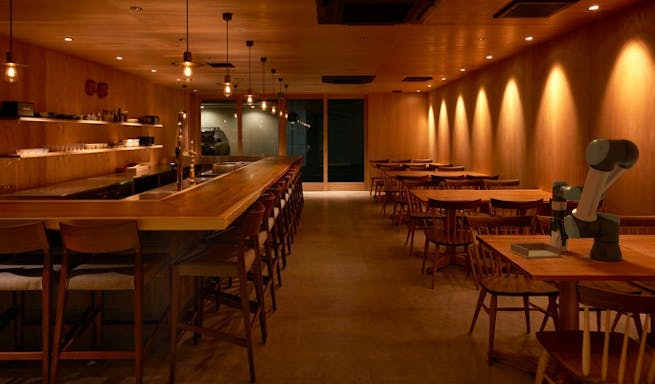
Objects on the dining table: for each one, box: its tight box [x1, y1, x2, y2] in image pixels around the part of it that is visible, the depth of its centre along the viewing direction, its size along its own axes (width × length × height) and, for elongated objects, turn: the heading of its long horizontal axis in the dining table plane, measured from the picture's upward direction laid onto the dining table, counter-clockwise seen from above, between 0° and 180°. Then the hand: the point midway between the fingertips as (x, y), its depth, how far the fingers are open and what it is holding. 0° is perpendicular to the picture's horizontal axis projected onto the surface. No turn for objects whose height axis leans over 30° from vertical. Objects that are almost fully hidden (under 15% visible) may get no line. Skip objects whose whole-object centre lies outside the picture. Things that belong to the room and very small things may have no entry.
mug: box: [552, 229, 569, 252], centre depth 313 cm, size 12×8×10 cm
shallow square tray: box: [509, 241, 563, 259], centre depth 303 cm, size 18×19×4 cm
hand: (557, 249), depth 314 cm, fingers open, 9 cm apart
